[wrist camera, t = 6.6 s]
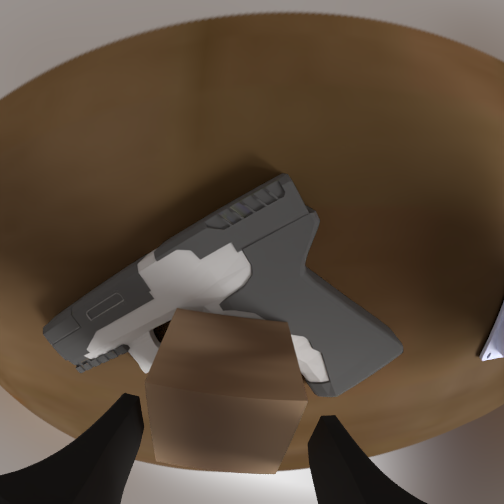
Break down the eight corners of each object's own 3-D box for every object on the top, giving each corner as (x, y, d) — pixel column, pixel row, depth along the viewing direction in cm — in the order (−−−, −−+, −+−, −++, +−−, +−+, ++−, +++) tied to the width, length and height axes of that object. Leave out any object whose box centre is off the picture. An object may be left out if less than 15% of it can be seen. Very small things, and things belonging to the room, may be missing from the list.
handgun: (407, 359, 14) (327, 153, 11) (158, 454, 16) (37, 331, 13) (391, 337, 16) (313, 156, 13) (164, 431, 18) (57, 313, 15)
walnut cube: (287, 322, 13) (307, 400, 8) (267, 398, 14) (275, 474, 9) (176, 307, 12) (144, 382, 8) (175, 387, 14) (156, 461, 9)
